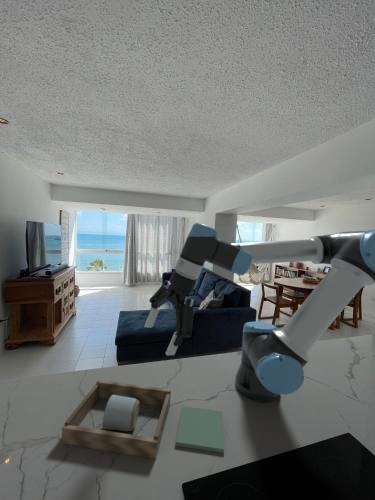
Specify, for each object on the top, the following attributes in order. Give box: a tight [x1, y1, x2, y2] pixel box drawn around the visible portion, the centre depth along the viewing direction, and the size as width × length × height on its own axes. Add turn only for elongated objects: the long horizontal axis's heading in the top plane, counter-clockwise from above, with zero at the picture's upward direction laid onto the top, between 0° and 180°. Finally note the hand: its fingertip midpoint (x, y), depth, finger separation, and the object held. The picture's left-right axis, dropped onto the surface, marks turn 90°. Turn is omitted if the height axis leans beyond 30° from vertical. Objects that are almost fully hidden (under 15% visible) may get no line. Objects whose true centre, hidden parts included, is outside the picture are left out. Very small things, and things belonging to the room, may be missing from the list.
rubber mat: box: [175, 405, 225, 454], centre depth 60 cm, size 12×12×1 cm
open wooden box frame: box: [61, 379, 172, 459], centre depth 61 cm, size 24×17×5 cm
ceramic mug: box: [102, 395, 140, 432], centre depth 62 cm, size 11×8×8 cm
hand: (158, 339), depth 65 cm, fingers open, 13 cm apart
